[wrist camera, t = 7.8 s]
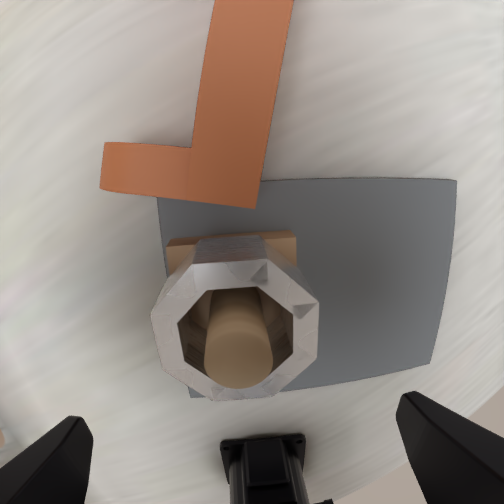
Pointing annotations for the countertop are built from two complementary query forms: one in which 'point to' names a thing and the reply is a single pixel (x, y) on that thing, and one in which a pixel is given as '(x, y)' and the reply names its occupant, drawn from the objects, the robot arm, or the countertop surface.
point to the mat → (350, 263)
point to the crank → (216, 115)
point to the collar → (235, 276)
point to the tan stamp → (236, 318)
